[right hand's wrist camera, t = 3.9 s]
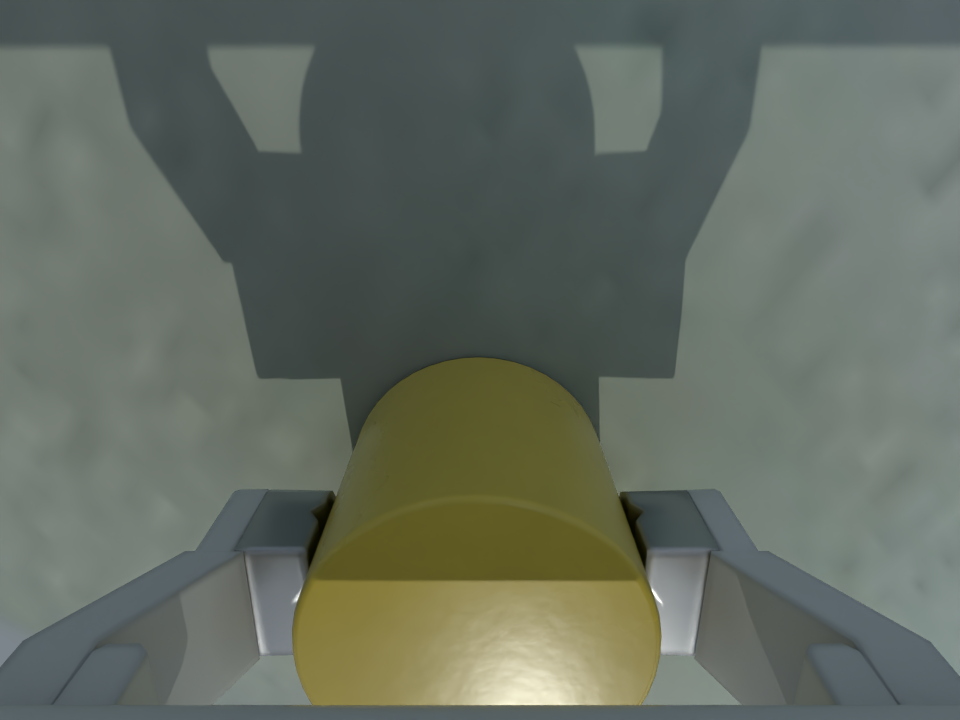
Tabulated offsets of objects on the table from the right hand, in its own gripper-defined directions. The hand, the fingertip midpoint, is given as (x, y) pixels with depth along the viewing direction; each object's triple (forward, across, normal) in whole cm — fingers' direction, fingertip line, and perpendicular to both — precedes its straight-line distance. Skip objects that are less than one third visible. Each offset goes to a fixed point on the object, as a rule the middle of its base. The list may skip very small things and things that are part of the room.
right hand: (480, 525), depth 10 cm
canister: (+2, 0, 0) cm, 2 cm away
